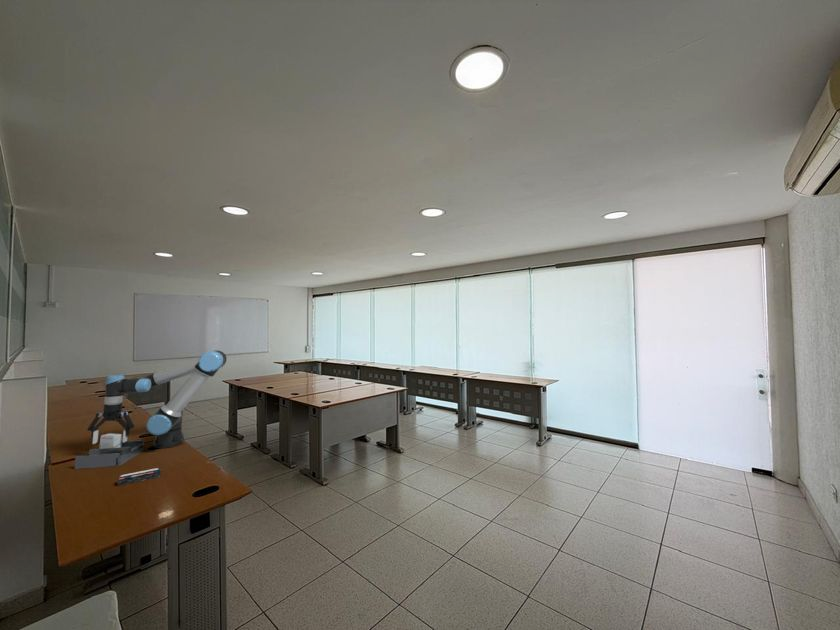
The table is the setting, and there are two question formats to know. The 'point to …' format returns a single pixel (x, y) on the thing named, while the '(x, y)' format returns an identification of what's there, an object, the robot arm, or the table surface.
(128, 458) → the rack
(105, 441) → the ink box
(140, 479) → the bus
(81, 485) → the table surface
